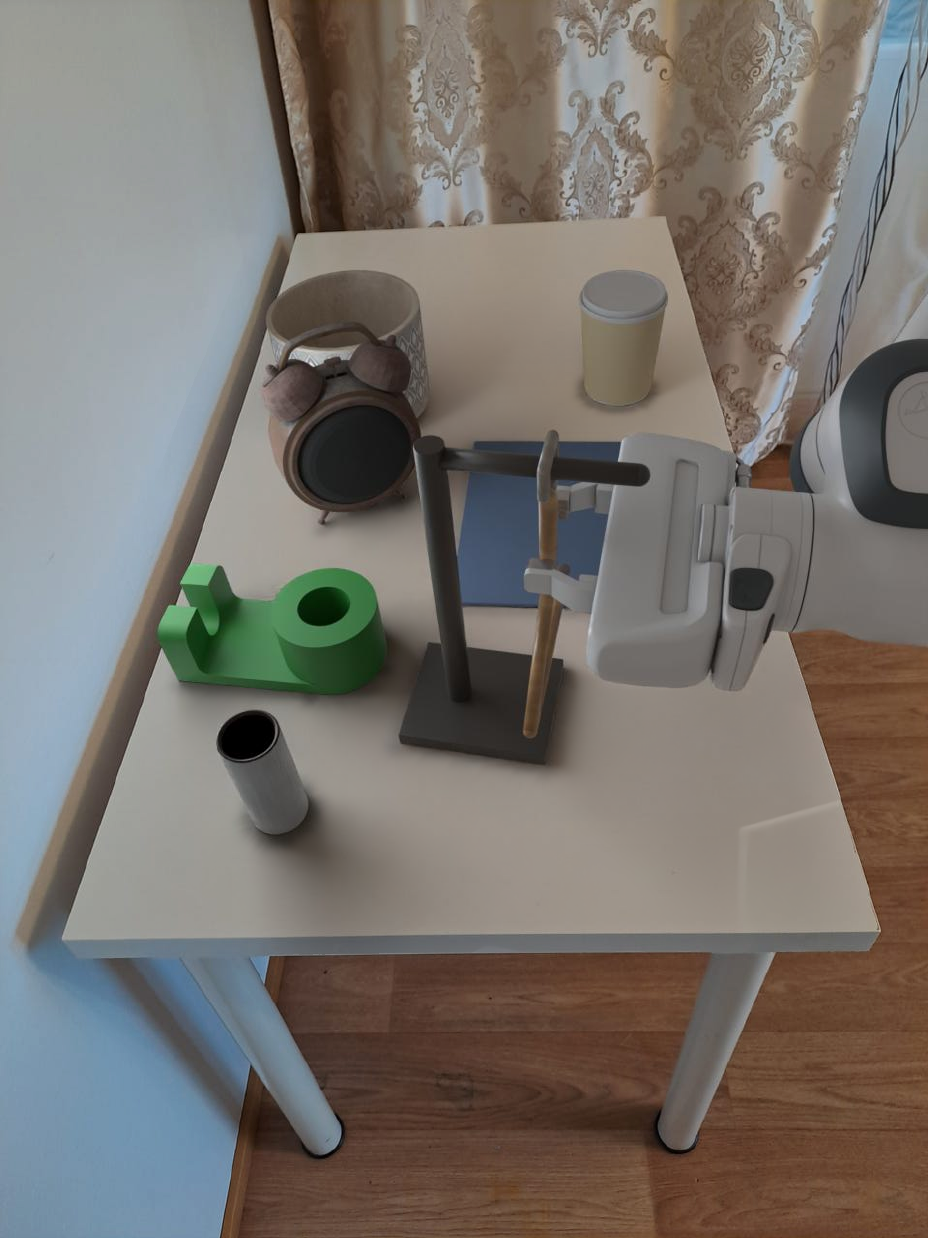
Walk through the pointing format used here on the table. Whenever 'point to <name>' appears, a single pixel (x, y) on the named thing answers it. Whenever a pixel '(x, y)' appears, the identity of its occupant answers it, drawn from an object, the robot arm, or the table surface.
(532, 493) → the mat
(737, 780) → the table surface
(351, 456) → the alarm clock
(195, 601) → the green bracket
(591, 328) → the coffee cup
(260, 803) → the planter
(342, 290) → the planter
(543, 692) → the hanger
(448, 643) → the rail
